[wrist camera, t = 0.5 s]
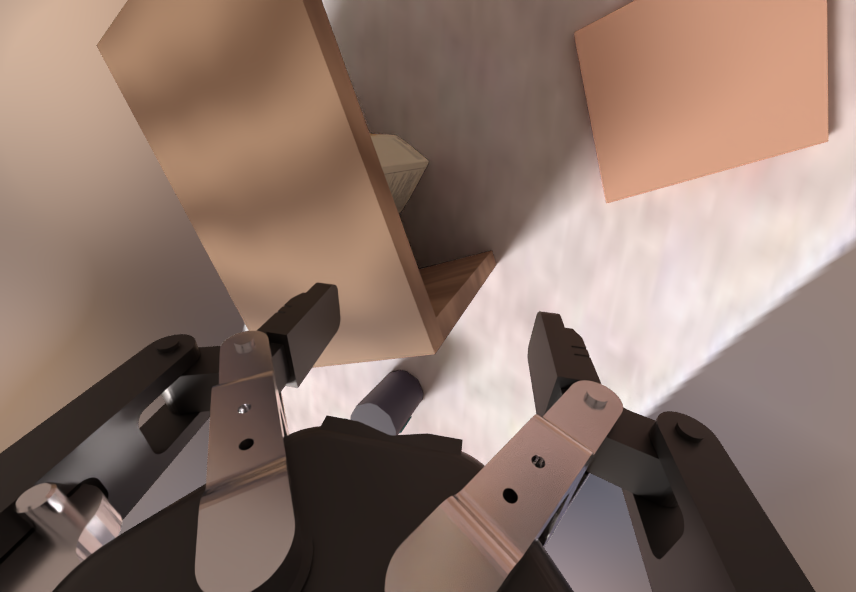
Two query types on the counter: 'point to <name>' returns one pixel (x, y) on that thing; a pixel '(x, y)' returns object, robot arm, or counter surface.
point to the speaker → (390, 403)
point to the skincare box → (399, 166)
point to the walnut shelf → (282, 169)
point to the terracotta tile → (702, 87)
